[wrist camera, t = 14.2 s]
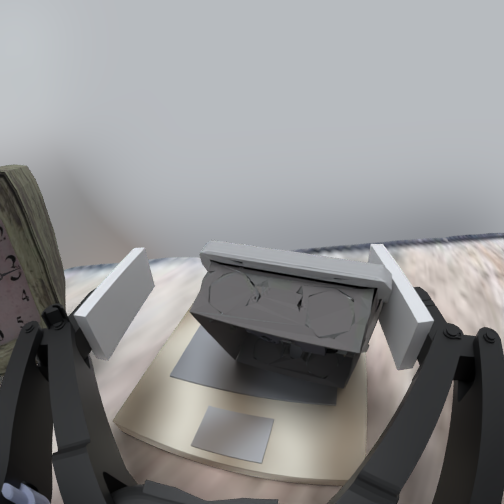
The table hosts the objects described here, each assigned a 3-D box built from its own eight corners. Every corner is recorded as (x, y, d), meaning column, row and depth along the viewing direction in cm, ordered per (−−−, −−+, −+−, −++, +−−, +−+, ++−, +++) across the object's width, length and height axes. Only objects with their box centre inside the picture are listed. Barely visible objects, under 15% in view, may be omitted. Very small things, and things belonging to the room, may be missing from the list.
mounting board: (354, 280, 29) (356, 266, 28) (356, 485, 10) (364, 478, 9) (225, 270, 32) (224, 257, 32) (122, 431, 13) (111, 419, 13)
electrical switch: (367, 345, 17) (395, 241, 11) (351, 413, 14) (391, 337, 8) (247, 320, 21) (217, 219, 15) (217, 376, 17) (163, 286, 12)
